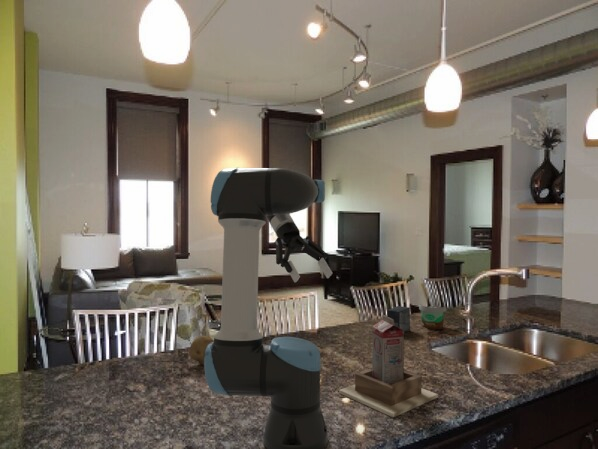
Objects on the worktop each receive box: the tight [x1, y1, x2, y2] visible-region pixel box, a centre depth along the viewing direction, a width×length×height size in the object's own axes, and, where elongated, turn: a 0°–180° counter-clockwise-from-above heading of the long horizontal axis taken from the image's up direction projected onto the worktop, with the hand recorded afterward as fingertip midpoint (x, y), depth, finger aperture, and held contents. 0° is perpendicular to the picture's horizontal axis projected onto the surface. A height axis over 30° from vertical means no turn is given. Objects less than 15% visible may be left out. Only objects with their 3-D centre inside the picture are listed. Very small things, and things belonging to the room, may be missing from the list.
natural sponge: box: [188, 335, 214, 365], centre depth 156 cm, size 9×9×10 cm
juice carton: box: [371, 314, 405, 385], centre depth 130 cm, size 7×7×22 cm
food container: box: [418, 304, 447, 330], centre depth 205 cm, size 12×6×10 cm, turn 73°
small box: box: [386, 305, 411, 334], centre depth 199 cm, size 11×6×10 cm, turn 141°
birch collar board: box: [338, 367, 439, 418], centre depth 130 cm, size 20×20×6 cm
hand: (314, 277), depth 141 cm, fingers open, 13 cm apart
